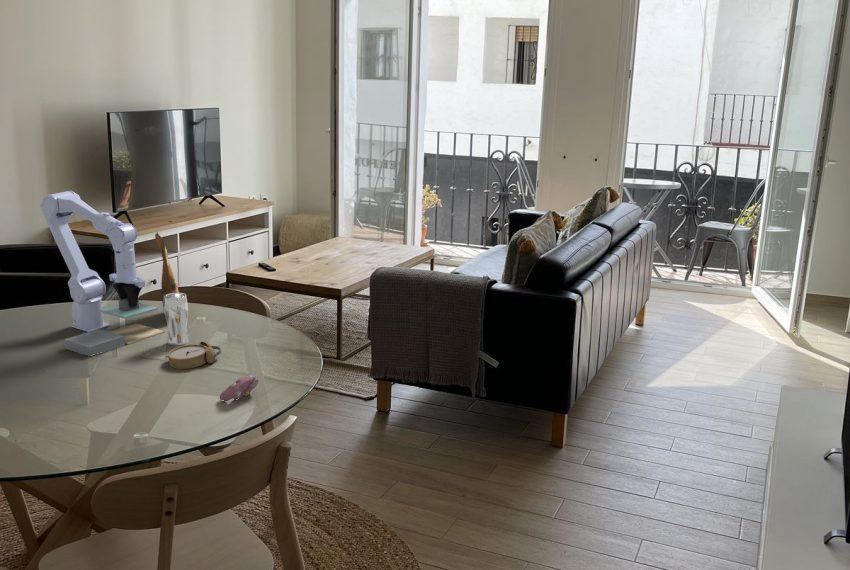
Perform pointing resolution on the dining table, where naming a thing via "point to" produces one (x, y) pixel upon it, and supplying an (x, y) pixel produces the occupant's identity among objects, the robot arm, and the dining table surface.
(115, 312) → the lid
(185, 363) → the alarm clock
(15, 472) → the dining table surface
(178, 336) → the beer glass
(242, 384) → the video game controller
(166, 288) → the pancake mix bag
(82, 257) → the robot arm
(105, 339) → the grey square slab
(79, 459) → the dining table surface
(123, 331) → the cork pad
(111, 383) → the dining table surface
